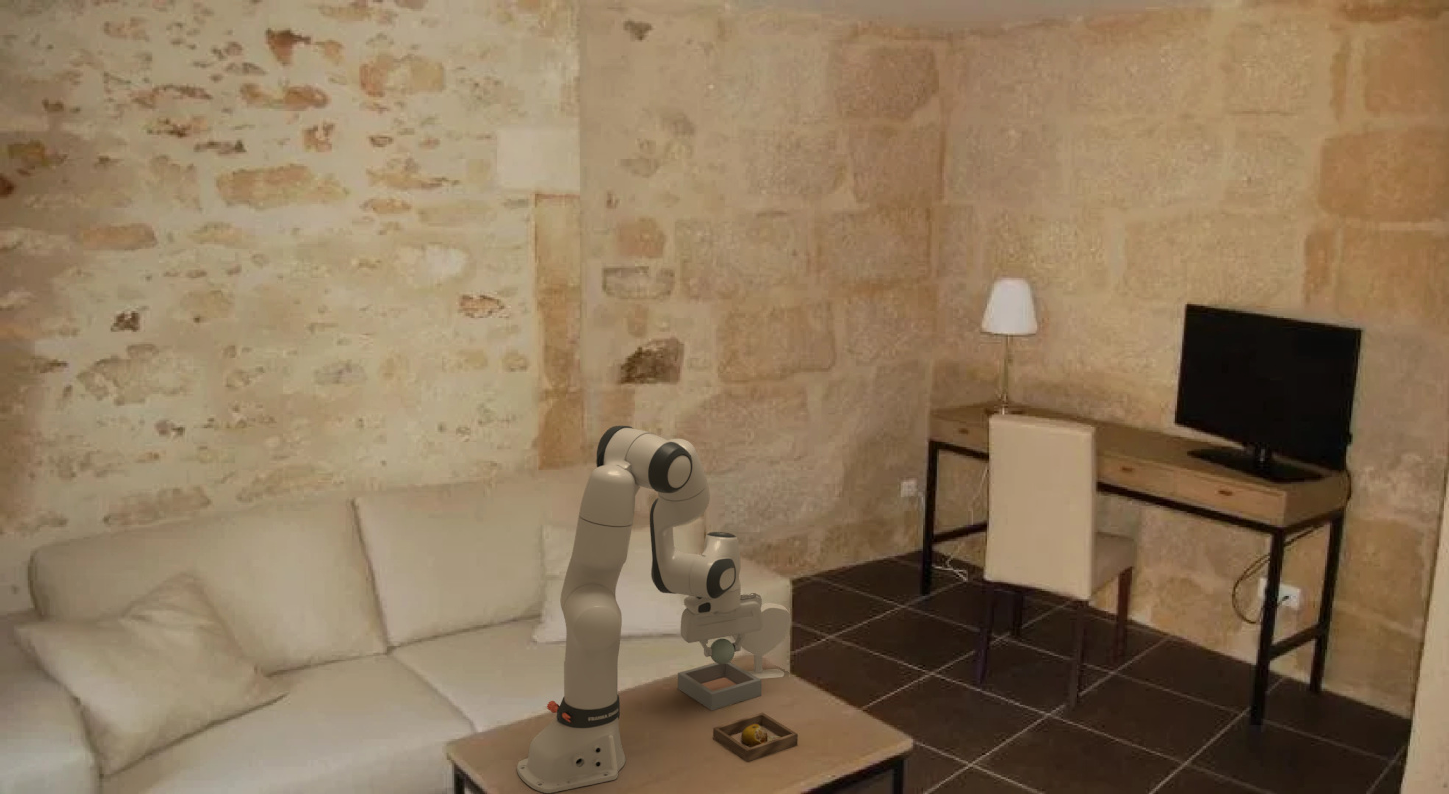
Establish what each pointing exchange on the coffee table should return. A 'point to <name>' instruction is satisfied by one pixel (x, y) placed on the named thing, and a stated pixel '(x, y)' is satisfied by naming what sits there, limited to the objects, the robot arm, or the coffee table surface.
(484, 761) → the coffee table surface
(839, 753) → the coffee table surface
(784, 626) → the heart sculpture
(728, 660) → the ball
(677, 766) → the coffee table surface
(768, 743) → the fruit tray
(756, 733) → the fruit
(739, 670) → the grey square tray
